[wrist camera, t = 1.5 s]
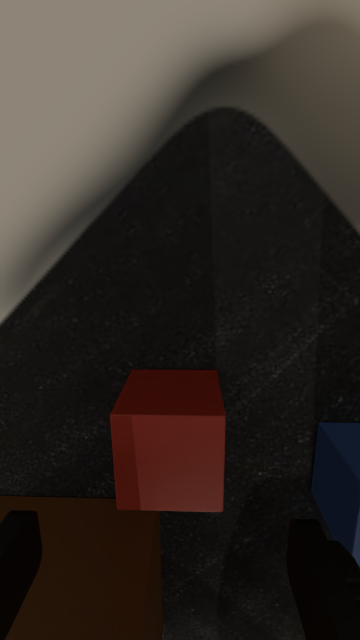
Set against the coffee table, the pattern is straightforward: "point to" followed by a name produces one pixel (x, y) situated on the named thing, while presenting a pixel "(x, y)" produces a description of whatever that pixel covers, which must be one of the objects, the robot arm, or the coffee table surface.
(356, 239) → the coffee table surface
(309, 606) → the robot arm
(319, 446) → the blue block
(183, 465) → the red block
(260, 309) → the coffee table surface
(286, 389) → the coffee table surface
